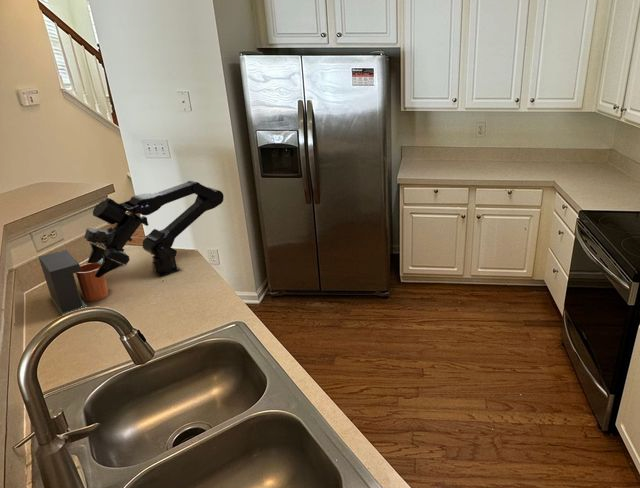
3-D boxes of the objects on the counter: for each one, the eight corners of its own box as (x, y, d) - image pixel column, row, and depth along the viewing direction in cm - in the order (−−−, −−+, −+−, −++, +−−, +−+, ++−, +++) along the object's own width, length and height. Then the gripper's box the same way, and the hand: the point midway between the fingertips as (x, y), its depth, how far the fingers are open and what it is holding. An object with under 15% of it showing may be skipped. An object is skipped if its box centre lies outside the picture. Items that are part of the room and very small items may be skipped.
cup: (104, 287, 142) (97, 260, 139) (111, 295, 138) (104, 267, 135) (80, 295, 138) (72, 267, 134) (86, 303, 133) (78, 275, 130)
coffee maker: (78, 291, 140) (66, 249, 135) (91, 307, 132) (79, 263, 126) (51, 299, 135) (38, 256, 130) (63, 316, 127) (49, 272, 121)
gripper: (90, 211, 139) (57, 252, 135) (109, 226, 127) (74, 272, 124) (122, 227, 147) (92, 266, 143) (143, 242, 136) (111, 286, 132)
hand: (91, 272), depth 135 cm, fingers open, 9 cm apart
